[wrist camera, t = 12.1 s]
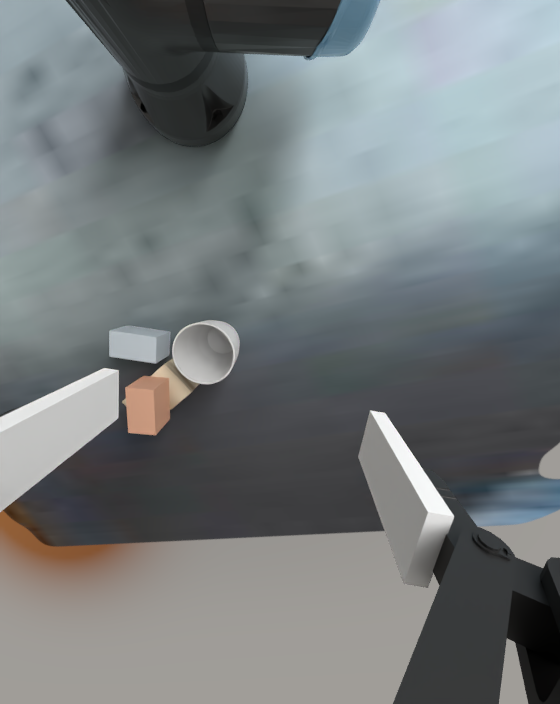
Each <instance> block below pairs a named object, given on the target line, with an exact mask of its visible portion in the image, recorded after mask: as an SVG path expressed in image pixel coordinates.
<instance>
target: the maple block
mask: <svg viewBox="0 0 560 704" xmlns="http://www.w3.org/2000/svg"><path fill="white" fill-rule="evenodd" d="M151 376H152V377H163V378H169V398H170V410H171V409H172V408H174V407H175V406H176V405H177V404H178V403H179V402H181V401H182V400H183V399H184V398H185V397H187V396H188V395H189V394H190V393H191V392H192V391H193V390H194V389H195V388H196V387H197V386H198V385H199V383H195V382H193V381H191V380H189V379H187V378H186V377H185V376H183V375H182V374H181V373H180V371H179V370H178V369H177V367H176V365H175V363H174V360H173V359H171V360H170V361H168V362H167V363H165V364H164V365H163V366H161V367H160V368H159V369H158V370H157V371H156V372H155V373H154V374H152V375H151ZM122 403H123V404H124V405H125V406H126V399H124V400H123V401H122ZM126 407H127V406H126Z"/></svg>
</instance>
